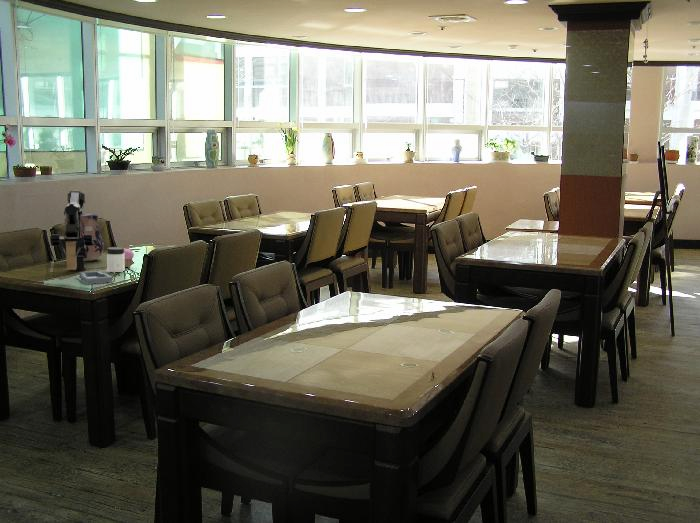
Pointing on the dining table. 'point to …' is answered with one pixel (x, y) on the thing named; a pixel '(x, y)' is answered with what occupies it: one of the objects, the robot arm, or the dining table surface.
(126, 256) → the cupcake
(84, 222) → the ceramic pitcher
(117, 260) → the jar
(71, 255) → the tan tall block
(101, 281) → the grey shallow tray
